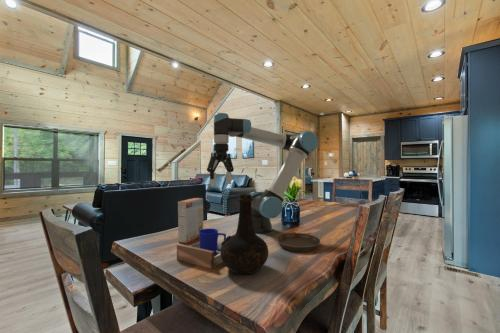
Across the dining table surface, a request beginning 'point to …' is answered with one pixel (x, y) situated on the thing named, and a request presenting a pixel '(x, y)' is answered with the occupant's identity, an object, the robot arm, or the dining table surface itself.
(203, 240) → the mug
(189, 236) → the cracker box
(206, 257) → the channel
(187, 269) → the dining table surface
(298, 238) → the plant saucer
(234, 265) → the dark brown vase
